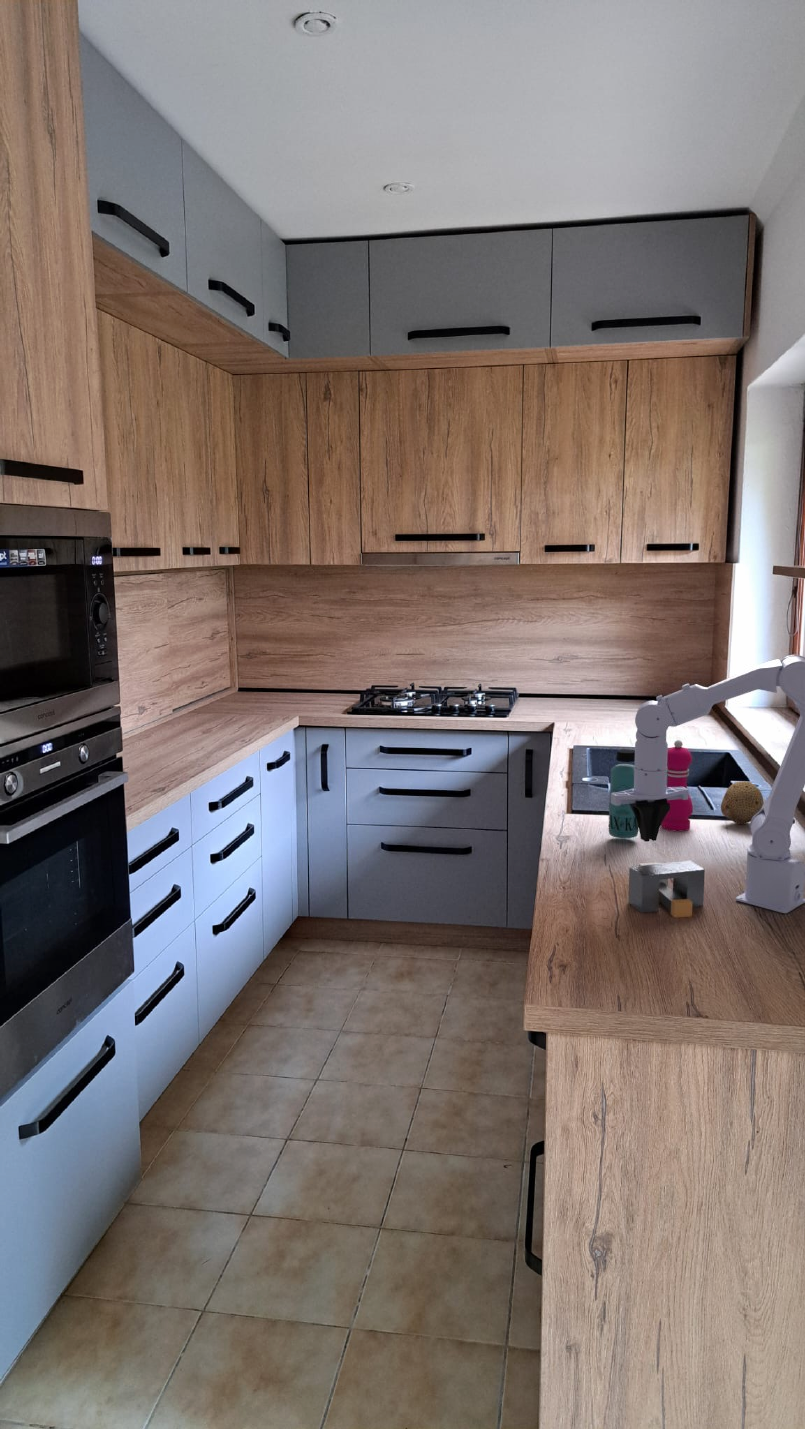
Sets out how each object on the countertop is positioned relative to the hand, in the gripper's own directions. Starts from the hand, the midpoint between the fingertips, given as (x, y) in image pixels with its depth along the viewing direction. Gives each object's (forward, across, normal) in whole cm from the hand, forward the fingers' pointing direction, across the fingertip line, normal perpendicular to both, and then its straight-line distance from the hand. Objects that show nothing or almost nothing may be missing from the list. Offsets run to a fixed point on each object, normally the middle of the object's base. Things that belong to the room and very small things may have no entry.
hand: (648, 839), depth 181 cm
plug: (+10, -1, +5) cm, 11 cm away
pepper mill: (+10, -25, -34) cm, 43 cm away
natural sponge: (+10, -40, -31) cm, 52 cm away
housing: (+10, 0, +7) cm, 12 cm away
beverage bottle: (+10, -9, -28) cm, 32 cm away
